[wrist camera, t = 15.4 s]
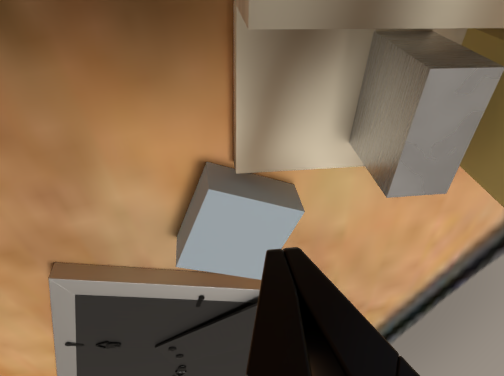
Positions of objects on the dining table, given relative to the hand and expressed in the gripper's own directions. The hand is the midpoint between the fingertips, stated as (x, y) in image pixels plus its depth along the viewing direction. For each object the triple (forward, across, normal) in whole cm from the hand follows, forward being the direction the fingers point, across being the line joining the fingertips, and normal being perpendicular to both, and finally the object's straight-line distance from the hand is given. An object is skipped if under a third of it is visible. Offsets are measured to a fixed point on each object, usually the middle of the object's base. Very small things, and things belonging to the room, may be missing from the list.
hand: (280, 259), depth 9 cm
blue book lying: (+12, 0, +9) cm, 15 cm away
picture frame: (+13, +4, +23) cm, 26 cm away
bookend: (+11, -8, 0) cm, 13 cm away
